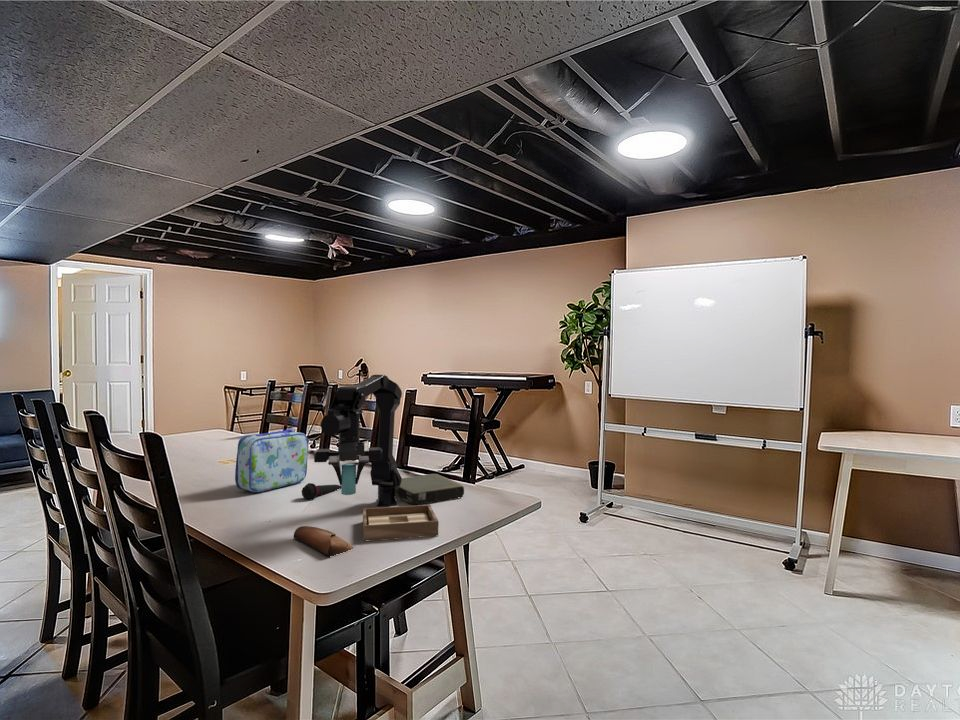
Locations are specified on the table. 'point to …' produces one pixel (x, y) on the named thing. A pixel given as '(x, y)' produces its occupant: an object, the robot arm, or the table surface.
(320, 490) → the microphone
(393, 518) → the open box
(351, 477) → the peg
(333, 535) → the sunglasses case
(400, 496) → the network switch
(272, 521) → the table surface
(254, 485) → the lunch box
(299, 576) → the table surface
